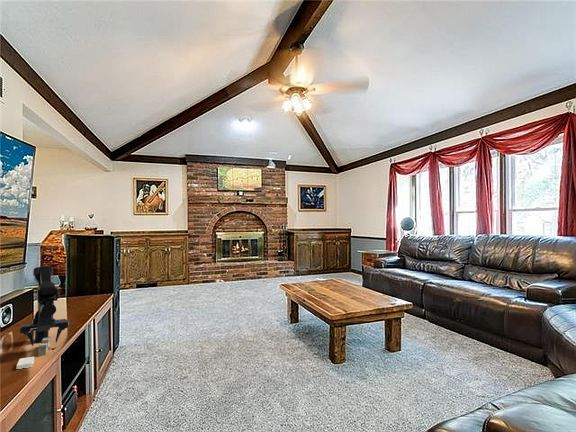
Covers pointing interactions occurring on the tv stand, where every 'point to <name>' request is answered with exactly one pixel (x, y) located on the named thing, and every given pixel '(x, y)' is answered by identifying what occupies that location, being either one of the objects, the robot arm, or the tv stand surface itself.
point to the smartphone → (59, 320)
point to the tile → (25, 362)
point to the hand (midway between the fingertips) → (44, 343)
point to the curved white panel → (43, 346)
